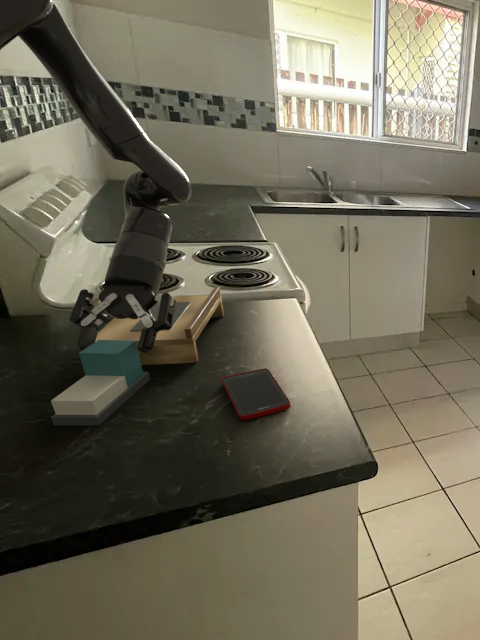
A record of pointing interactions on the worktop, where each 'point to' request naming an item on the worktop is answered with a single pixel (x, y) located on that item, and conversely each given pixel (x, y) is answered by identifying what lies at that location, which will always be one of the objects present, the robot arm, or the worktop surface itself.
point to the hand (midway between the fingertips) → (114, 350)
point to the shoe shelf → (178, 339)
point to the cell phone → (255, 394)
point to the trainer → (101, 383)
